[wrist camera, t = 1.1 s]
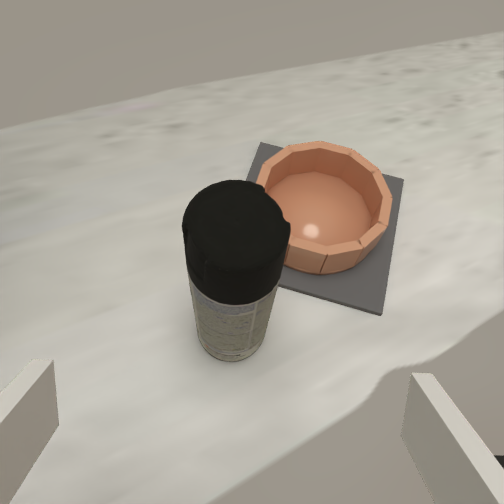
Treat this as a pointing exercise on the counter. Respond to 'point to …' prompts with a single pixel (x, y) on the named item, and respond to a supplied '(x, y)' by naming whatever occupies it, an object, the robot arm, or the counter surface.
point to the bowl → (327, 205)
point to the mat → (356, 278)
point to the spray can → (234, 264)
